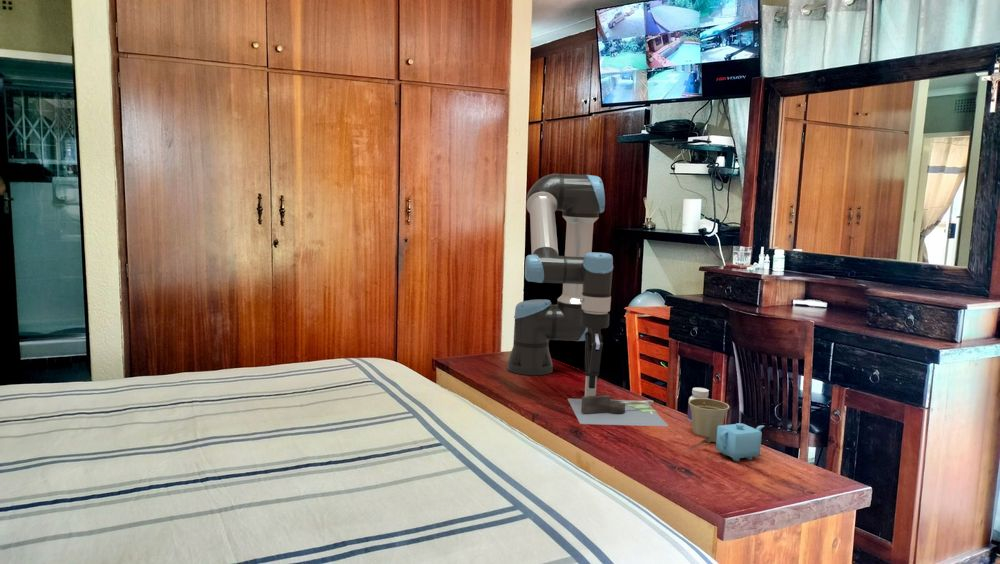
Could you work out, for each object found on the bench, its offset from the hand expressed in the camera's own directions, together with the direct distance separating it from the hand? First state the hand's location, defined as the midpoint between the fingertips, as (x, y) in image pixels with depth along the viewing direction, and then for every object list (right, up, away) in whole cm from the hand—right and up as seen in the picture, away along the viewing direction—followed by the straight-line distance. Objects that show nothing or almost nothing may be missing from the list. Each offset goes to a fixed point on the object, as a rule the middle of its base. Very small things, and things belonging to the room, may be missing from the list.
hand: (589, 398), depth 181 cm
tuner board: (+6, -4, -4) cm, 8 cm away
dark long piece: (+6, -3, -4) cm, 8 cm away
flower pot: (+26, -7, -17) cm, 32 cm away
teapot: (+30, -8, -28) cm, 42 cm away
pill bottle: (+26, -6, -9) cm, 28 cm away
